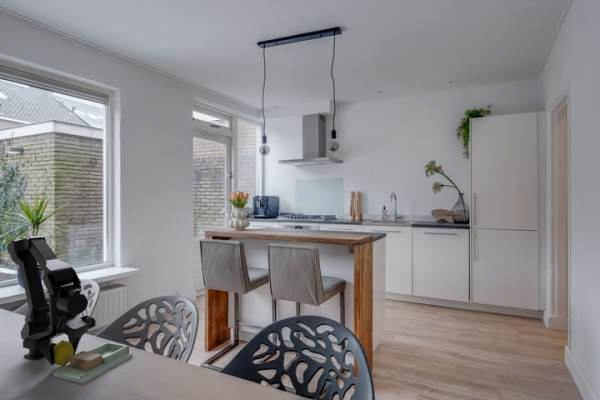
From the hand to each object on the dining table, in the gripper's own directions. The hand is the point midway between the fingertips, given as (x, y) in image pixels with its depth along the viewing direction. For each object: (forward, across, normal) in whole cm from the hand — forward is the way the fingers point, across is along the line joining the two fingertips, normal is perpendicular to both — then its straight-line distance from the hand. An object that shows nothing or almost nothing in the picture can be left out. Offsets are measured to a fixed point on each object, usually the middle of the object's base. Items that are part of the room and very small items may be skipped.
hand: (62, 359), depth 107 cm
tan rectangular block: (+1, +1, -9) cm, 9 cm away
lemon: (+2, 0, 0) cm, 2 cm away
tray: (+2, +4, -9) cm, 10 cm away
